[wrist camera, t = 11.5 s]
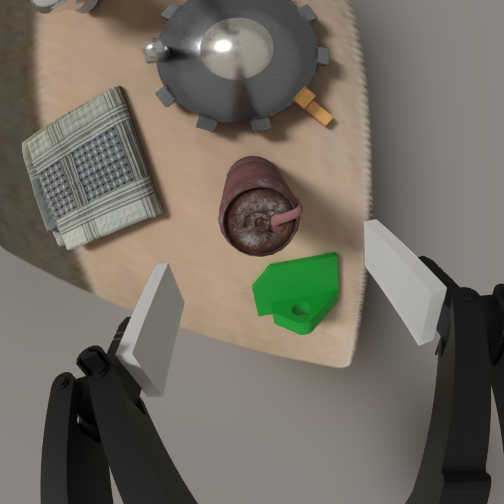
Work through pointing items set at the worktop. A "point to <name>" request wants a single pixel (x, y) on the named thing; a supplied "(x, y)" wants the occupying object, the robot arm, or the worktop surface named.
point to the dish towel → (90, 172)
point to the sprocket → (236, 59)
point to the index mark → (318, 113)
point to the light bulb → (63, 5)
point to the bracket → (298, 291)
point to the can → (258, 208)
